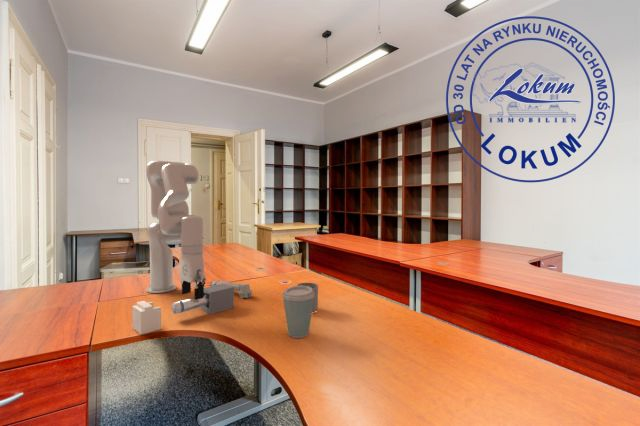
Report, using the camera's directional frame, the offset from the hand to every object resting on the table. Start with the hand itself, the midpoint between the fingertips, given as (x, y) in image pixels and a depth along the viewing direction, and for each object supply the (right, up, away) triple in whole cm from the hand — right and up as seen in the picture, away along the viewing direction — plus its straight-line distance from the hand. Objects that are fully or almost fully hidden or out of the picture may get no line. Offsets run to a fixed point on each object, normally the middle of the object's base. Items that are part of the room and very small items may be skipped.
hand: (192, 296), depth 116 cm
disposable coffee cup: (+40, -9, -13) cm, 43 cm away
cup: (+42, -8, +9) cm, 44 cm away
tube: (+2, -5, +4) cm, 7 cm away
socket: (-10, -8, -10) cm, 17 cm away
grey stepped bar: (+6, -7, +29) cm, 31 cm away
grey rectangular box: (+6, -7, +9) cm, 13 cm away
